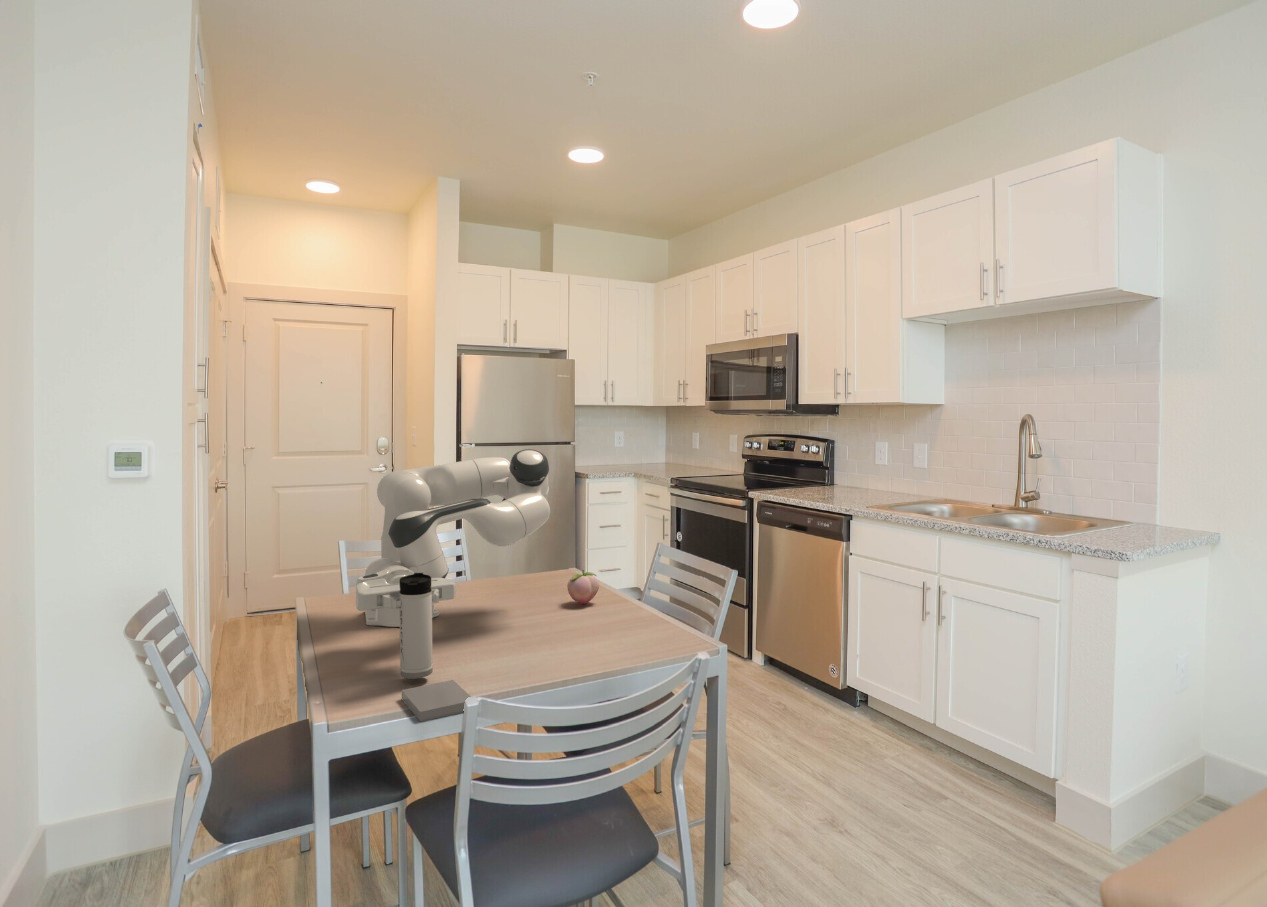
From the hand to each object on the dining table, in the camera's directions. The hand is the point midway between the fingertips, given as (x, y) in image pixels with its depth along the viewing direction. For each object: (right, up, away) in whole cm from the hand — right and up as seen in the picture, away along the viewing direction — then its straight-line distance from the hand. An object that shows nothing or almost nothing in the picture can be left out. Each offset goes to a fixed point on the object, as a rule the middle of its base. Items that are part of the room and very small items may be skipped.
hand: (416, 601), depth 145 cm
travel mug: (0, -15, +1) cm, 15 cm away
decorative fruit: (+29, -14, +62) cm, 70 cm away
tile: (+4, -16, -6) cm, 17 cm away
